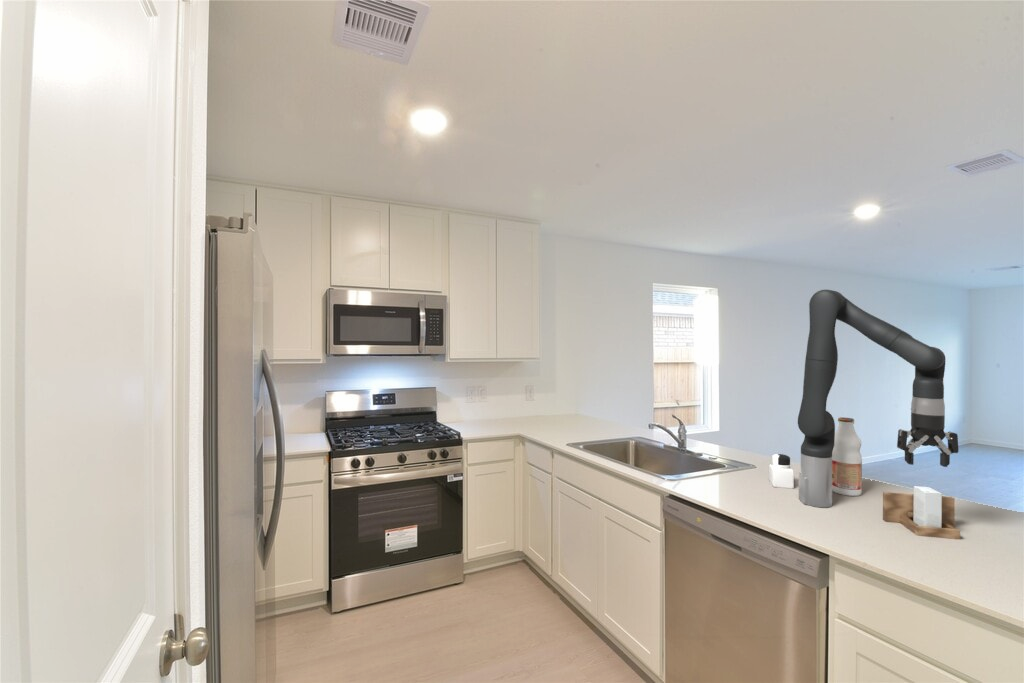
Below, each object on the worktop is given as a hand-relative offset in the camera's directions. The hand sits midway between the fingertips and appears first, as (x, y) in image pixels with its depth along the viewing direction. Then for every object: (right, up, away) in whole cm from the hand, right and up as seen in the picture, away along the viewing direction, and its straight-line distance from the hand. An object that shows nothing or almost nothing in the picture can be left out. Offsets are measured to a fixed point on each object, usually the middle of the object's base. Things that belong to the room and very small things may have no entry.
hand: (926, 465), depth 136 cm
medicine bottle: (-20, -20, +41) cm, 50 cm away
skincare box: (0, -20, 0) cm, 20 cm away
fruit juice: (0, -20, +33) cm, 38 cm away
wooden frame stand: (0, -20, 0) cm, 20 cm away
